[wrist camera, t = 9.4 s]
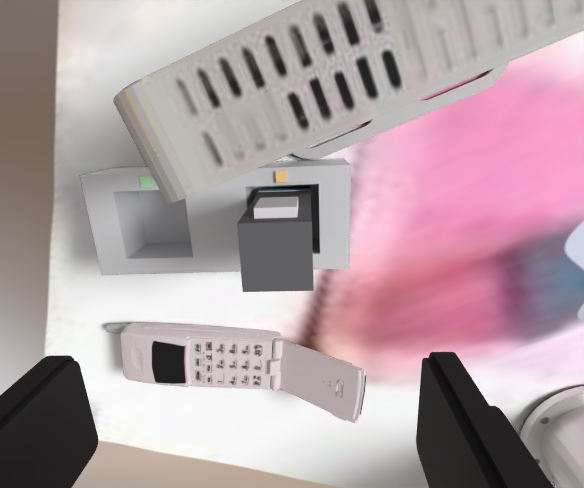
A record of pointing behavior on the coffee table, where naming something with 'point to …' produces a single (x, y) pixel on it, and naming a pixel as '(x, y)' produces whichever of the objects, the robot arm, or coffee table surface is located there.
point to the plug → (277, 241)
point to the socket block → (207, 218)
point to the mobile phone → (239, 363)
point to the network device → (324, 80)
